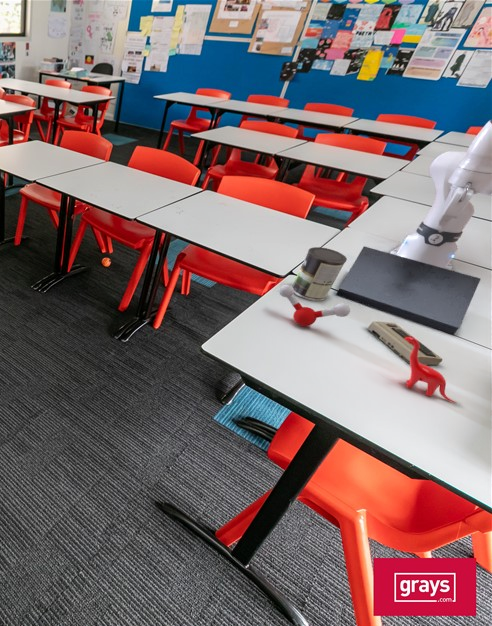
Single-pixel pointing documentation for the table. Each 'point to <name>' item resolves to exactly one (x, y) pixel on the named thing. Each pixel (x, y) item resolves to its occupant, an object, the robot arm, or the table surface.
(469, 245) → the table surface
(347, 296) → the laptop
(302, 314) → the molecular model
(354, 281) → the laptop screen
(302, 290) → the coffee can
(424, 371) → the dinosaur
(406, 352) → the computer
